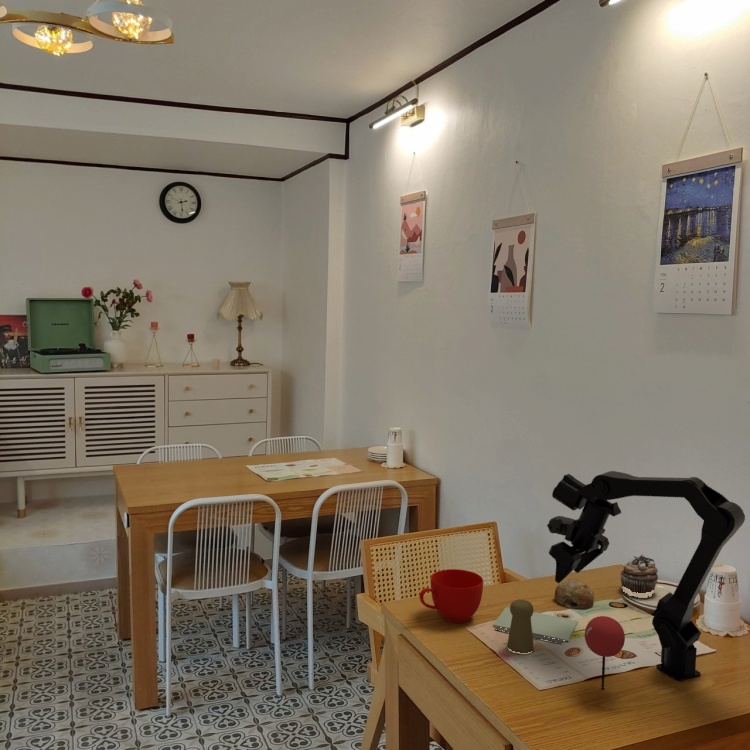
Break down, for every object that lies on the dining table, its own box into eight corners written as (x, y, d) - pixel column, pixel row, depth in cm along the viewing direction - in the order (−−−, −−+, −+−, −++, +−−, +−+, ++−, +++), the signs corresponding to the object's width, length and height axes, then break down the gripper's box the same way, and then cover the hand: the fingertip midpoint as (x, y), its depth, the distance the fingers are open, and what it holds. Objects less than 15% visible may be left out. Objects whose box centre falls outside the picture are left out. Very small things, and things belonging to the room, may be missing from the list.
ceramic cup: (406, 615, 187) (407, 576, 186) (463, 603, 194) (464, 566, 193) (433, 636, 175) (434, 594, 174) (492, 622, 183) (494, 583, 182)
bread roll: (553, 617, 196) (553, 595, 192) (556, 587, 204) (556, 566, 200) (592, 622, 193) (593, 600, 189) (593, 592, 201) (594, 570, 197)
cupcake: (632, 583, 210) (633, 548, 209) (663, 594, 203) (665, 558, 202) (611, 591, 204) (613, 555, 203) (643, 602, 197) (645, 565, 196)
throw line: (563, 641, 173) (563, 640, 173) (562, 644, 172) (562, 643, 172) (496, 627, 180) (496, 626, 180) (494, 630, 179) (494, 629, 179)
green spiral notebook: (578, 622, 184) (578, 620, 184) (568, 642, 173) (568, 640, 173) (506, 608, 191) (506, 606, 191) (492, 626, 181) (492, 624, 181)
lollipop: (591, 675, 158) (595, 607, 156) (627, 688, 153) (631, 617, 151) (576, 689, 152) (579, 618, 150) (613, 703, 147) (616, 629, 145)
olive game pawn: (532, 643, 172) (534, 597, 171) (535, 655, 166) (537, 607, 165) (505, 641, 173) (507, 595, 172) (507, 653, 167) (509, 606, 166)
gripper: (581, 495, 183) (557, 548, 188) (542, 510, 169) (518, 566, 174) (621, 520, 176) (595, 574, 182) (584, 538, 163) (558, 595, 168)
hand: (566, 576), depth 176 cm, fingers open, 9 cm apart
